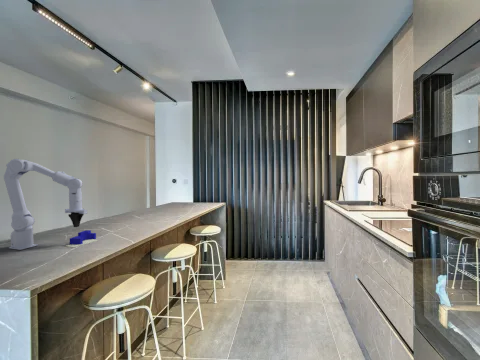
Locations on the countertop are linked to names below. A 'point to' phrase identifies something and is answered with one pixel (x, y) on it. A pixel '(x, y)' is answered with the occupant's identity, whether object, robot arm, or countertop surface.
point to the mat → (82, 244)
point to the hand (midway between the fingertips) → (76, 226)
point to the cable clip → (82, 237)
